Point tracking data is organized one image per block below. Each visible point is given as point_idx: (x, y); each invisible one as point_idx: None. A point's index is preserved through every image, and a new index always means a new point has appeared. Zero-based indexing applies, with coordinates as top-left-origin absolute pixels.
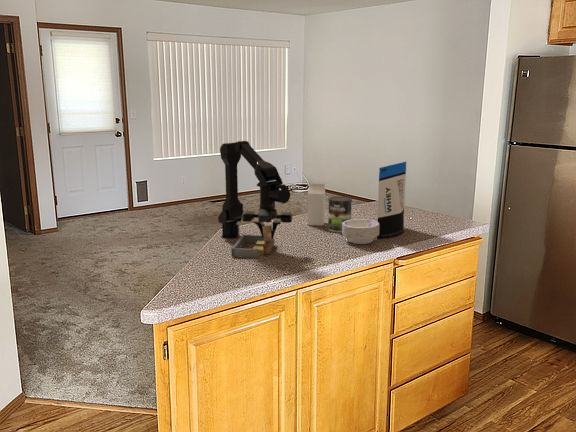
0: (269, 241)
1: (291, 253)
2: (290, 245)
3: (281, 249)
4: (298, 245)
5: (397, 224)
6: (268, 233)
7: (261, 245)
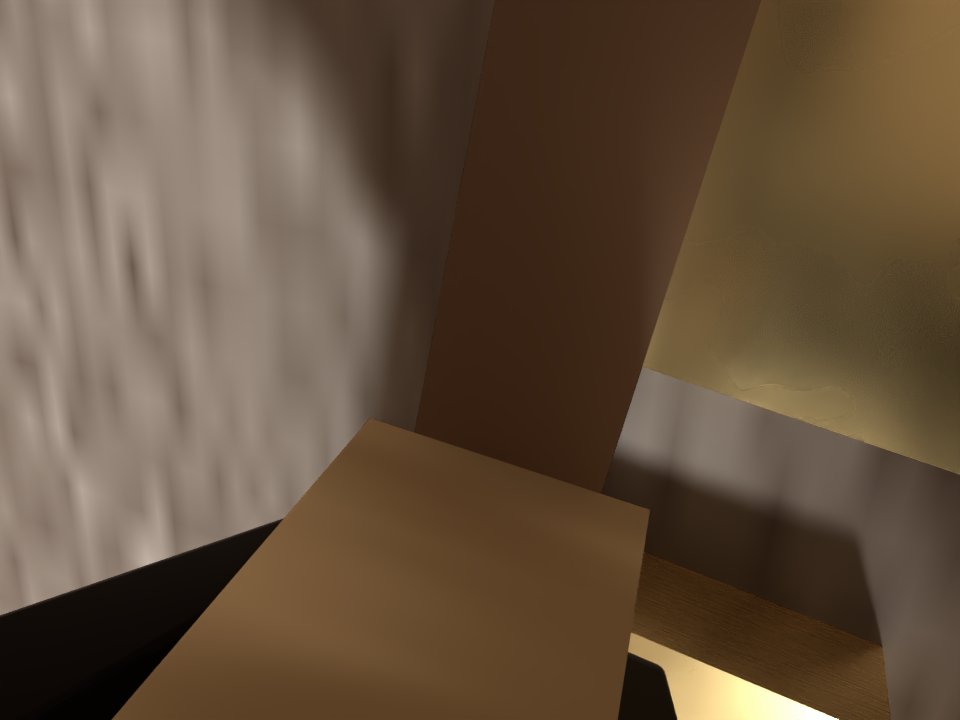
0: (446, 382)
1: (69, 19)
2: (147, 560)
3: (285, 368)
4: (31, 517)
5: None
6: (321, 653)
7: (724, 636)
